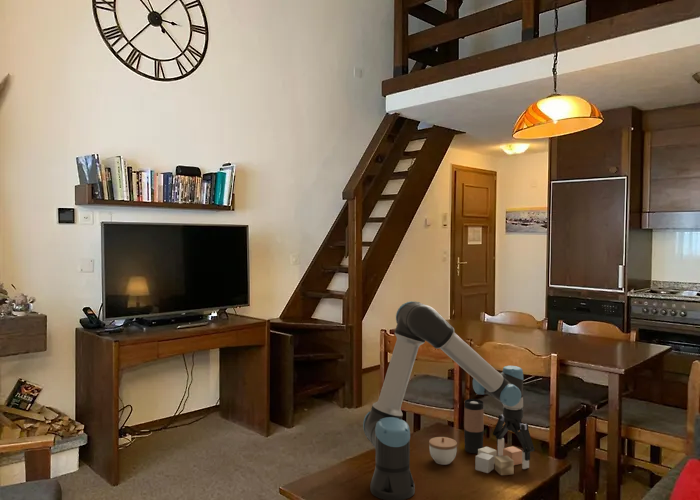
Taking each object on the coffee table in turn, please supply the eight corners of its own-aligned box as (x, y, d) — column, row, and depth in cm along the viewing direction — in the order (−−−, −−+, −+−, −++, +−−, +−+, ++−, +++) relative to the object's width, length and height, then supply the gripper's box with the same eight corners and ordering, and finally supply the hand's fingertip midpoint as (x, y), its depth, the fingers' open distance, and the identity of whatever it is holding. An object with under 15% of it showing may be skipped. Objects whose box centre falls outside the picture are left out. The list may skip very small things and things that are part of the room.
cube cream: (488, 466, 208) (488, 453, 208) (477, 462, 212) (477, 449, 212) (496, 463, 211) (496, 450, 211) (486, 459, 215) (486, 446, 215)
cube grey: (487, 473, 202) (487, 460, 201) (475, 469, 205) (475, 456, 205) (493, 469, 205) (493, 455, 205) (481, 465, 209) (481, 452, 209)
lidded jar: (455, 456, 217) (455, 433, 217) (458, 467, 206) (458, 443, 206) (428, 455, 218) (428, 432, 218) (429, 466, 207) (429, 442, 207)
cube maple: (500, 475, 200) (501, 461, 200) (494, 469, 205) (494, 456, 205) (513, 474, 201) (513, 460, 201) (507, 468, 206) (507, 455, 206)
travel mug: (460, 448, 225) (460, 400, 225) (475, 445, 229) (475, 397, 228) (471, 455, 218) (472, 405, 218) (487, 451, 222) (487, 402, 221)
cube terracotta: (512, 465, 208) (512, 452, 208) (503, 461, 213) (503, 448, 213) (522, 463, 210) (522, 450, 210) (512, 458, 215) (513, 446, 215)
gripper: (544, 414, 202) (544, 472, 202) (498, 397, 224) (498, 448, 225) (529, 417, 198) (529, 475, 199) (484, 399, 221) (484, 451, 221)
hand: (512, 461), depth 212 cm, fingers open, 13 cm apart
